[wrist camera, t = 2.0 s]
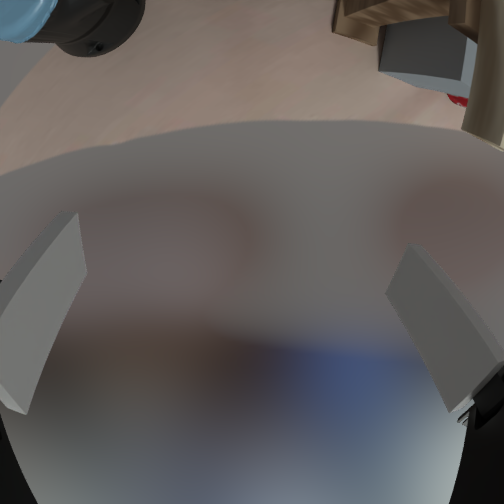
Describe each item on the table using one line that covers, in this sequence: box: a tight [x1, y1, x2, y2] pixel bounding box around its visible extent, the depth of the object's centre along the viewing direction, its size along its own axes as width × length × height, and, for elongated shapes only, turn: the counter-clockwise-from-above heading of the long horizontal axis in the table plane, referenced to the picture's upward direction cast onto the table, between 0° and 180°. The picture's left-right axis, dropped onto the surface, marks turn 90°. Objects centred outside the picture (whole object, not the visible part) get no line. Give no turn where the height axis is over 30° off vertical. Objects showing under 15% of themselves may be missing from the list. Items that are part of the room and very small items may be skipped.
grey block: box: [379, 16, 477, 98], centre depth 27 cm, size 8×11×20 cm
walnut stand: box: [332, 0, 481, 46], centre depth 21 cm, size 7×11×30 cm, turn 171°
